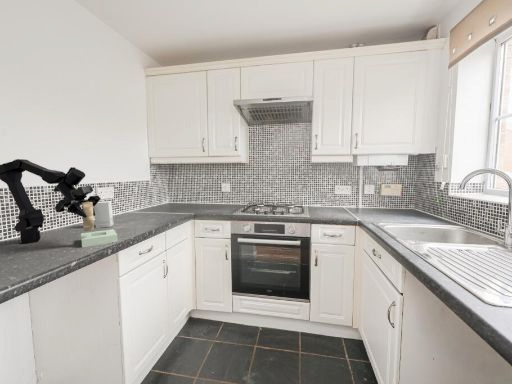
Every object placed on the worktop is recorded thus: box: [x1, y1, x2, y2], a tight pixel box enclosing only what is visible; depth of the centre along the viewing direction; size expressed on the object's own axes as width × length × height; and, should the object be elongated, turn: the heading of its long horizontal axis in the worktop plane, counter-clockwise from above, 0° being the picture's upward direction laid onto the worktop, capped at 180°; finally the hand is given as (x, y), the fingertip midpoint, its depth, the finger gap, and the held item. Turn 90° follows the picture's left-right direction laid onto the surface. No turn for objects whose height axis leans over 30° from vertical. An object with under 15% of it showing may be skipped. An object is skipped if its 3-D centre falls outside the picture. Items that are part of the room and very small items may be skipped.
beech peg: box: [81, 202, 95, 232], centre depth 109 cm, size 4×4×13 cm
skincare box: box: [94, 200, 114, 229], centre depth 145 cm, size 8×7×16 cm
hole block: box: [80, 228, 119, 248], centre depth 115 cm, size 14×14×4 cm
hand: (90, 216), depth 109 cm, fingers closed on beech peg, 4 cm apart
